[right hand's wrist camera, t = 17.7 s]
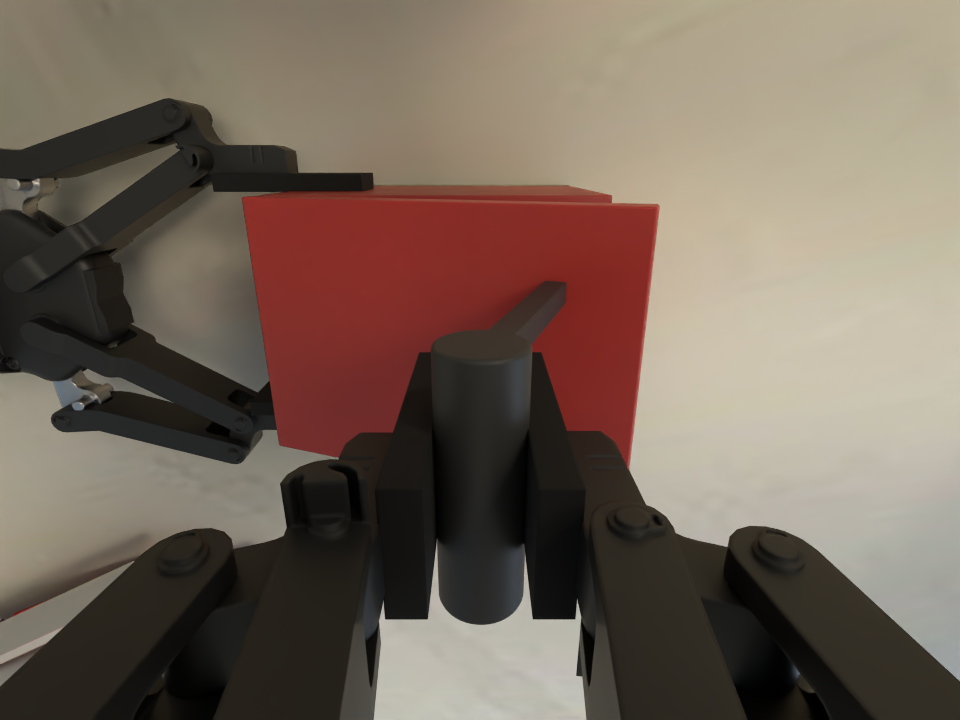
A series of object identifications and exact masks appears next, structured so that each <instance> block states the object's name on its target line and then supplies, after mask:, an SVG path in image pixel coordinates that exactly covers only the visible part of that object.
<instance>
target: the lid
mask: <svg viewBox="0 0 960 720" xmlns="http://www.w3.org/2000/svg"><path fill="white" fill-rule="evenodd" d="M242 202H243V209H244V215H245V222H246V228H247V235H248V242H249V248H250V255H251V261H252V268H253V275H254V281H255V288H256V294H257V301H258V308H259V314H260V321H261V327H262V334H263V341H264V347H265V354H266V360H267V367H268V373H269V380H270V387H271V393H272V400H273V406H274V413H275V420H276V426H277V433H278V439H279V445H280V446H285V447H289V448H294V449H299V450H304V451H309V452H314V453H319V454H323V455H328V456H333V457H338V458H339V456H340V454H341V452H342V450H343V448H344V446H345V444H346V443H347V442H348V441H350V440H351V439H352V438H354V437H355V436H356V435H357V434H359V433H360V432H393V431H394V428H395V425H396V422H397V419H398V415H399V412H400V409H401V406H402V403H403V400H404V397H405V394H406V391H407V388H408V385H409V382H410V379H411V376H412V372H413V369H414V366H415V363H416V360H417V357H418V354H419V352H431V376H432V405H433V433H434V462H435V491H436V520H437V550H438V579H439V596H440V600H441V602H442V604H443V606H444V607H445V609H446V610H447V611H448V612H449V613H450V614H451V615H452V616H454V617H455V618H457V619H459V620H461V621H463V622H466V623H470V624H477V625H486V624H492V623H496V622H499V621H502V620H504V619H506V618H507V617H509V616H510V615H511V614H513V613H514V611H515V610H516V609H517V608H518V606H519V605H520V603H521V601H522V597H523V587H524V561H525V547H524V532H525V504H526V477H527V449H528V429H529V425H530V401H531V374H532V352H542V355H543V359H544V362H545V365H546V368H547V371H548V374H549V377H550V380H551V383H552V386H553V389H554V392H555V395H556V398H557V401H558V405H559V408H560V411H561V414H562V417H563V420H564V423H565V426H566V429H567V431H602V432H603V433H604V434H605V435H607V436H608V437H609V438H611V439H612V440H613V441H615V442H616V444H617V446H618V449H619V451H620V453H621V455H622V458H623V459H624V461H625V463H626V465H627V469H629V467H630V458H631V449H632V441H633V432H634V423H635V415H636V406H637V397H638V389H639V380H640V372H641V363H642V354H643V346H644V337H645V328H646V320H647V311H648V302H649V294H650V285H651V277H652V268H653V259H654V251H655V242H656V233H657V225H658V216H659V205H658V204H627V203H582V202H537V201H492V200H447V199H402V198H357V197H312V196H268V195H262V196H248V197H243V198H242Z"/></svg>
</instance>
